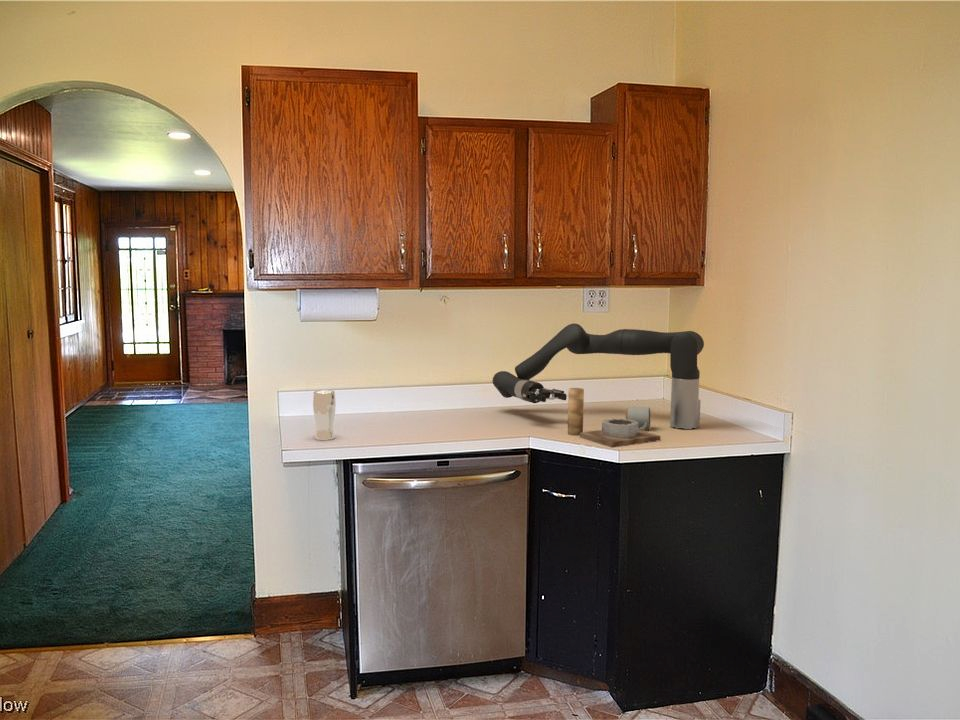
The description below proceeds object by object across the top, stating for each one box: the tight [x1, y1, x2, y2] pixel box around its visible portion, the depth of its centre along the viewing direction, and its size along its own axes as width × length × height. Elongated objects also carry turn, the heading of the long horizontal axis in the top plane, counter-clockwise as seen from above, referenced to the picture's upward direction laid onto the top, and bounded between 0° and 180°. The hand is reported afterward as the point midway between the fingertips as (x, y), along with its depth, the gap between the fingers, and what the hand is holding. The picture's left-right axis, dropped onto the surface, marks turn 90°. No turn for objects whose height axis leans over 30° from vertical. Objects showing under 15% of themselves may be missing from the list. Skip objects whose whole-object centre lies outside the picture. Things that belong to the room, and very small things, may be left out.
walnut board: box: [579, 429, 661, 448], centre depth 255 cm, size 20×16×2 cm
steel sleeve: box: [601, 418, 639, 438], centre depth 254 cm, size 11×11×4 cm
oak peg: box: [567, 387, 585, 436], centre depth 261 cm, size 5×5×15 cm
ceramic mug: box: [625, 406, 651, 431], centre depth 269 cm, size 11×8×8 cm
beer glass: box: [312, 389, 336, 441], centre depth 252 cm, size 7×7×15 cm
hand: (555, 398), depth 271 cm, fingers open, 8 cm apart
